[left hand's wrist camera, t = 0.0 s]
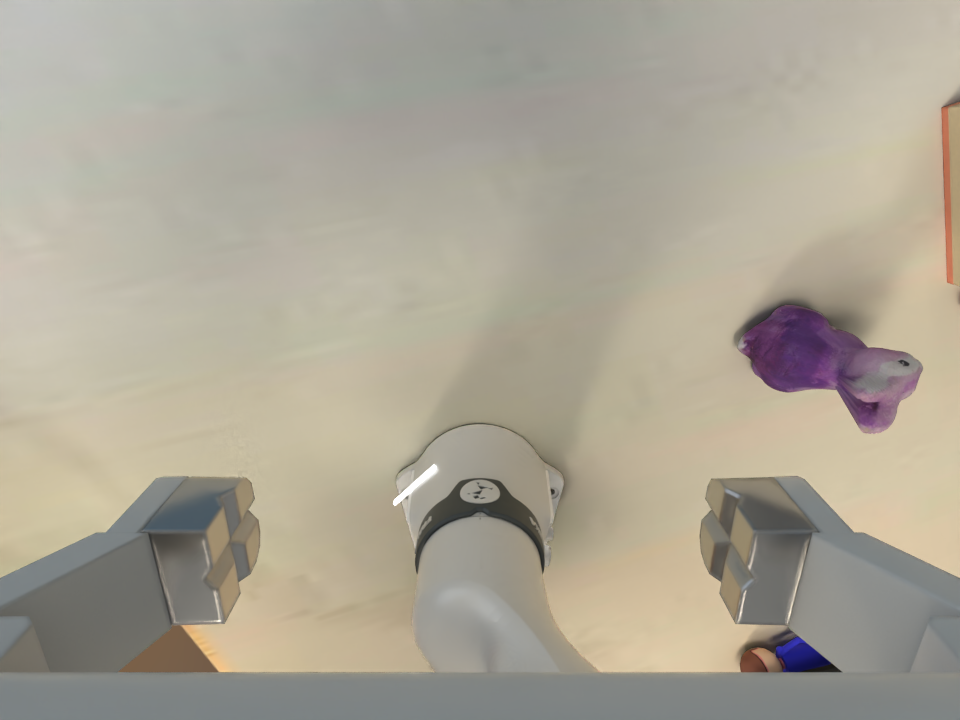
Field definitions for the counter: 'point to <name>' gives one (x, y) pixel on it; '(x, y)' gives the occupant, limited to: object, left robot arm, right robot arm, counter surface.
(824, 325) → the figurine
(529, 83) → the counter surface
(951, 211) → the beige drawer cabinet
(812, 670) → the figurine character
